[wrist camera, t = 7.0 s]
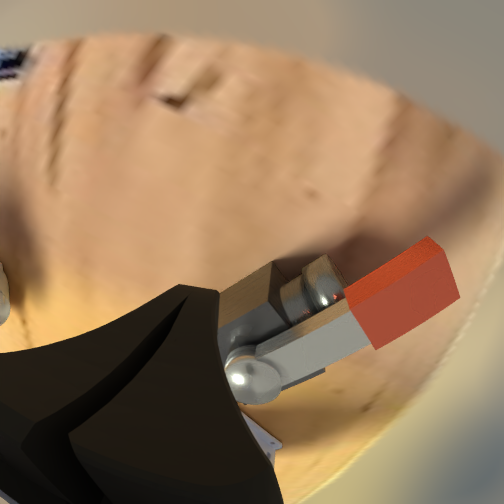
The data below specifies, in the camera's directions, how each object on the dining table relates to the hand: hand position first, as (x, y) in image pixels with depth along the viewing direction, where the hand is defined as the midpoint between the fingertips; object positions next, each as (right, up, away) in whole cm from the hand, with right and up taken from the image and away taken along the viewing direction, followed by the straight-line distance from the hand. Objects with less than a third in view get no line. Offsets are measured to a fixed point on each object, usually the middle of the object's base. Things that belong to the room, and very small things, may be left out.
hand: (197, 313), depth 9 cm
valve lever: (+6, -2, +6) cm, 8 cm away
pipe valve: (+2, -2, +12) cm, 12 cm away
